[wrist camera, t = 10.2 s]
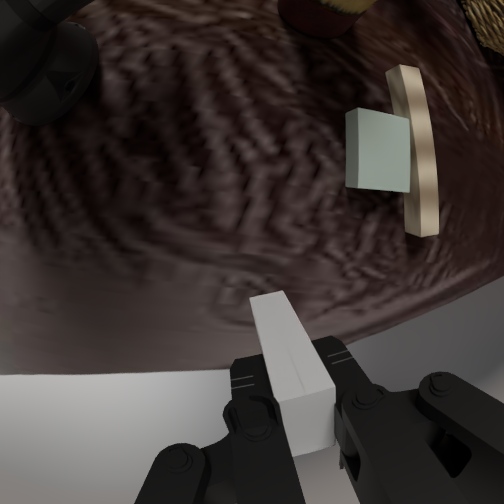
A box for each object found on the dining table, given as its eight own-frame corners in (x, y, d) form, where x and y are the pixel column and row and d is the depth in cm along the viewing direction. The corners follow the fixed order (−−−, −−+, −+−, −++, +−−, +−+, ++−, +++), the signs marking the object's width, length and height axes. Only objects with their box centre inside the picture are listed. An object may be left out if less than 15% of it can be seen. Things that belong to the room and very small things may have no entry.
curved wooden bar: (385, 72, 31) (399, 64, 28) (403, 75, 32) (418, 68, 28) (405, 231, 38) (420, 237, 34) (422, 228, 38) (438, 233, 34)
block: (344, 113, 33) (357, 107, 29) (393, 123, 34) (409, 119, 30) (344, 186, 35) (358, 188, 32) (393, 190, 36) (409, 192, 32)
